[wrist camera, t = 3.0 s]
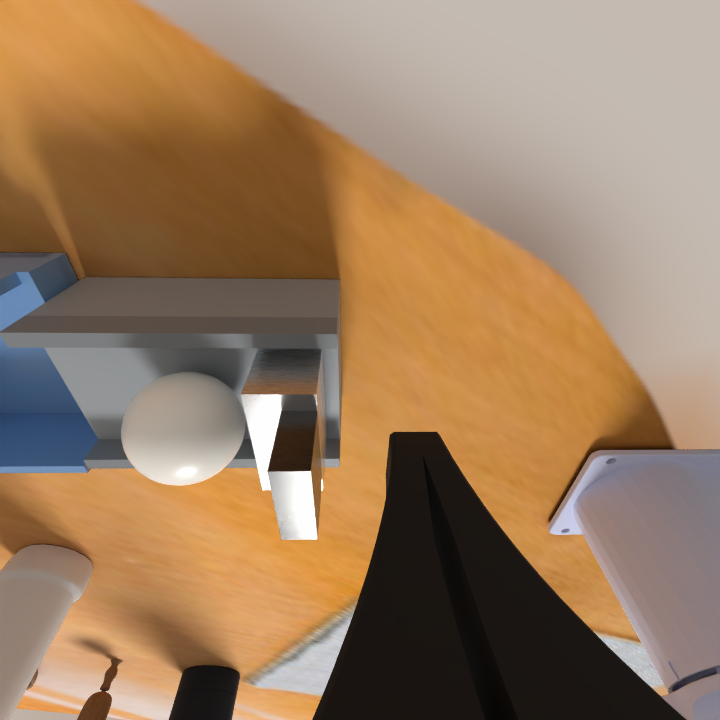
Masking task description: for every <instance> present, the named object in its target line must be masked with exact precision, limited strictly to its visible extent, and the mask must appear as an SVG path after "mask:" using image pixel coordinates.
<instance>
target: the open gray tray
mask: <svg viewBox="0 0 720 720" xmlns="http://www.w3.org/2000/svg"><path fill="white" fill-rule="evenodd" d="M0 336H1V337H2V339H3V340H4V342H5V343H6V345H7V346H8V347H26V348H45V350H46V352H47V354H48V355H49V357H50V359H51V360H52V362H53V364H54V365H55V367H56V369H57V370H58V372H59V374H60V375H61V377H62V379H63V380H64V382H65V384H66V386H67V387H68V389H69V391H70V392H71V394H72V396H73V397H74V399H75V401H76V402H77V404H78V406H79V407H80V409H81V411H82V412H83V414H84V416H85V417H86V419H87V421H88V423H89V424H90V426H91V428H92V429H93V431H94V433H95V434H96V436H97V438H98V441H97V442H96V443H95V445H94V446H93V447H92V449H91V450H90V451H89V453H88V454H87V455H86V457H85V458H84V459H83V461H84V462H85V464H86V465H87V467H88V468H89V469H95V468H135V467H134V466H133V465H132V464H131V463H130V461H129V460H128V458H127V456H126V454H125V452H124V449H123V445H122V440H121V427H122V422H123V417H124V415H125V412H126V410H127V407H128V406H129V404H130V403H131V401H132V400H133V398H134V397H135V396H136V395H137V394H138V393H139V392H140V391H141V390H142V389H143V388H144V387H145V386H147V385H148V384H150V383H151V382H153V381H155V380H156V379H158V378H161V377H163V376H166V375H169V374H173V373H179V372H198V373H203V374H207V375H210V376H213V377H215V378H217V379H219V380H220V381H222V382H223V383H225V384H226V385H227V386H229V387H230V388H231V389H232V390H233V392H234V393H235V394H236V396H237V397H238V399H239V400H240V402H241V405H242V407H243V403H242V398H241V392H242V390H243V387H244V384H245V382H246V379H247V376H248V374H249V371H250V369H251V366H252V363H253V361H254V358H255V356H256V353H257V350H258V348H280V349H322V350H323V369H324V389H325V408H326V428H327V441H326V455H325V467H340V438H341V407H342V380H341V314H340V279H243V278H135V277H84V278H83V279H81V280H79V281H78V282H76V283H75V284H73V285H72V286H70V287H69V288H67V289H65V290H64V291H62V292H61V293H59V294H58V295H56V296H55V297H53V298H52V299H50V300H48V301H47V302H45V303H44V304H42V305H41V306H39V307H38V308H36V309H34V310H33V311H31V312H30V313H28V314H27V315H25V316H24V317H22V318H20V319H19V320H17V321H16V322H14V323H13V324H11V325H10V326H8V327H6V328H5V329H3V330H2V331H0ZM243 410H244V407H243ZM244 415H245V411H244ZM225 468H258V467H257V463H256V459H255V454H254V450H253V446H252V441H251V437H250V433H249V428H248V424H247V420H246V415H245V433H244V437H243V441H242V444H241V446H240V448H239V450H238V452H237V454H236V455H235V457H234V458H233V459H232V461H231V462H230V463H229V464H228V465H227V466H226V467H225Z"/></svg>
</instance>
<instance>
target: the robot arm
mask: <svg viewBox="0 0 720 720" xmlns="http://www.w3.org/2000/svg"><path fill="white" fill-rule="evenodd" d="M548 529H549V532H550V533H551V534H555V535H563V534H583V536H584V538H585V539H586V541H587V543H588V545H589V547H590V549H591V551H592V552H593V554H594V556H595V558H596V560H597V562H598V563H599V565H600V567H601V569H602V571H603V573H604V575H605V576H606V578H607V580H608V582H609V584H610V586H611V588H612V589H613V591H614V593H615V595H616V597H617V599H618V600H619V602H620V604H621V606H622V608H623V610H624V612H625V613H626V615H627V617H628V619H629V621H630V623H631V625H632V626H633V628H634V630H635V632H636V634H637V636H638V637H639V639H640V641H641V643H642V645H643V647H644V649H645V650H646V652H647V654H648V656H649V658H650V660H651V662H652V663H653V665H654V667H655V669H656V671H657V673H658V675H659V676H660V678H661V680H662V682H663V684H664V686H665V687H666V689H667V691H668V693H669V694H667V695H663V696H660V695H659V694H658V693H657V692H655V691H654V690H653V689H652V688H651V687H650V686H649V685H648V684H647V683H646V682H644V681H643V680H642V679H641V678H640V677H639V676H638V675H637V674H636V673H635V672H634V671H633V670H632V669H631V668H630V667H629V666H628V665H627V664H626V663H624V662H623V661H622V660H621V659H620V658H619V657H618V656H617V655H616V654H615V653H614V652H613V651H612V650H611V649H610V648H609V647H608V646H607V645H606V644H605V643H604V642H603V641H602V640H601V639H600V638H599V637H598V636H597V635H596V634H595V633H594V632H593V631H592V630H591V629H590V628H589V627H588V626H587V625H586V624H585V623H584V622H583V621H582V620H581V619H580V618H579V617H578V616H577V615H576V614H575V613H574V612H573V611H572V610H571V608H570V607H569V606H568V605H567V604H566V603H565V602H564V601H563V600H562V599H561V598H560V597H559V596H558V595H557V594H556V593H555V592H554V590H553V589H552V588H551V587H550V586H549V585H548V584H547V583H546V582H545V580H544V579H543V578H542V577H541V576H540V575H539V574H538V573H537V571H536V570H535V569H534V568H533V567H532V566H531V564H530V563H529V562H528V561H527V560H526V559H525V557H524V556H523V555H522V554H521V553H520V551H519V550H518V549H517V548H516V547H515V545H514V544H513V543H512V542H511V540H510V539H509V538H508V536H507V535H506V534H505V533H504V531H503V530H502V529H501V527H500V526H499V525H498V523H497V522H496V521H495V520H494V518H493V517H492V515H491V514H490V513H489V511H488V510H487V509H486V507H485V506H484V504H483V503H482V502H481V500H480V499H479V497H478V496H477V494H476V493H475V491H474V490H473V488H472V487H471V486H470V484H469V483H468V481H467V480H466V478H465V477H464V475H463V473H462V472H461V470H460V469H459V467H458V465H457V464H456V462H455V461H454V459H453V457H452V456H451V454H450V452H449V451H448V449H447V447H446V445H445V444H444V442H443V440H442V438H441V436H440V435H439V434H438V433H437V432H393V433H392V434H390V439H389V449H388V459H387V469H386V501H385V506H384V511H383V515H382V519H381V524H380V528H379V532H378V536H377V540H376V544H375V547H374V551H373V555H372V558H371V561H370V565H369V568H368V572H367V575H366V578H365V581H364V584H363V587H362V590H361V593H360V596H359V599H358V603H357V606H356V608H355V611H354V614H353V617H352V620H351V623H350V626H349V628H348V631H347V634H346V636H345V639H344V642H343V644H342V647H341V650H340V652H339V655H338V658H337V660H336V663H335V666H334V668H333V671H332V673H331V676H330V678H329V681H328V683H327V686H326V688H325V691H324V693H323V696H322V698H321V700H320V703H319V705H318V708H317V710H316V712H315V715H314V717H313V720H720V450H598V451H595V452H593V453H592V454H591V455H590V456H589V458H588V459H587V461H586V463H585V464H584V466H583V468H582V469H581V471H580V473H579V475H578V476H577V478H576V480H575V481H574V483H573V485H572V486H571V488H570V490H569V491H568V493H567V495H566V496H565V498H564V500H563V501H562V503H561V505H560V506H559V508H558V510H557V511H556V513H555V515H554V517H553V518H552V520H551V522H550V523H549V525H548Z"/></svg>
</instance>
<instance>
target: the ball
mask: <svg viewBox="0 0 720 720" xmlns="http://www.w3.org/2000/svg"><path fill="white" fill-rule="evenodd" d="M244 433H245V415H244V410H243V407H242V405H241V402H240V400H239V399H238V397H237V396H236V394H235V393H234V392H233V390H232V389H231V388H230V387H229V386H227V385H226V384H225V383H223V382H222V381H220V380H219V379H217V378H215V377H213V376H210V375H207V374H203V373H198V372H179V373H173V374H169V375H166V376H163V377H161V378H158V379H156V380H155V381H153V382H151V383H150V384H148V385H147V386H145V387H144V388H143V389H142V390H141V391H140V392H139V393H138V394H137V395H136V396H135V397H134V398H133V400H132V401H131V403H130V404H129V406H128V407H127V410H126V412H125V415H124V417H123V422H122V427H121V440H122V445H123V449H124V452H125V454H126V456H127V458H128V460H129V461H130V463H131V464H132V465H133V466H134V467H135V469H136V470H138V471H139V472H140V473H141V474H143V475H144V476H146V477H147V478H149V479H151V480H153V481H156V482H159V483H162V484H167V485H189V484H194V483H198V482H201V481H204V480H206V479H208V478H210V477H212V476H214V475H216V474H217V473H219V472H220V471H221V470H222V469H224V468H225V467H226V466H227V465H228V464H229V463H230V462H231V461H232V459H233V458H234V457H235V455H236V454H237V452H238V450H239V448H240V446H241V444H242V441H243V437H244Z"/></svg>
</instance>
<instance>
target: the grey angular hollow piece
mask: <svg viewBox="0 0 720 720" xmlns="http://www.w3.org/2000/svg"><path fill="white" fill-rule="evenodd" d="M241 398H242V403H243V407H244V411H245V415H246V420H247V424H248V428H249V433H250V437H251V441H252V446H253V450H254V454H255V459H256V463H257V467H258V471H259V476H260V480H261V484H262V489H263V490H271V492H272V497H273V502H274V507H275V511H276V516H277V521H278V526H279V530H280V535H281V540H302V539H318V526H319V513H320V500H321V490H323V482H324V468H325V455H326V441H327V428H326V408H325V389H324V369H323V350H322V349H280V348H258V350H257V353H256V356H255V358H254V361H253V363H252V366H251V369H250V371H249V374H248V376H247V379H246V382H245V384H244V387H243V390H242V392H241Z"/></svg>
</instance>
